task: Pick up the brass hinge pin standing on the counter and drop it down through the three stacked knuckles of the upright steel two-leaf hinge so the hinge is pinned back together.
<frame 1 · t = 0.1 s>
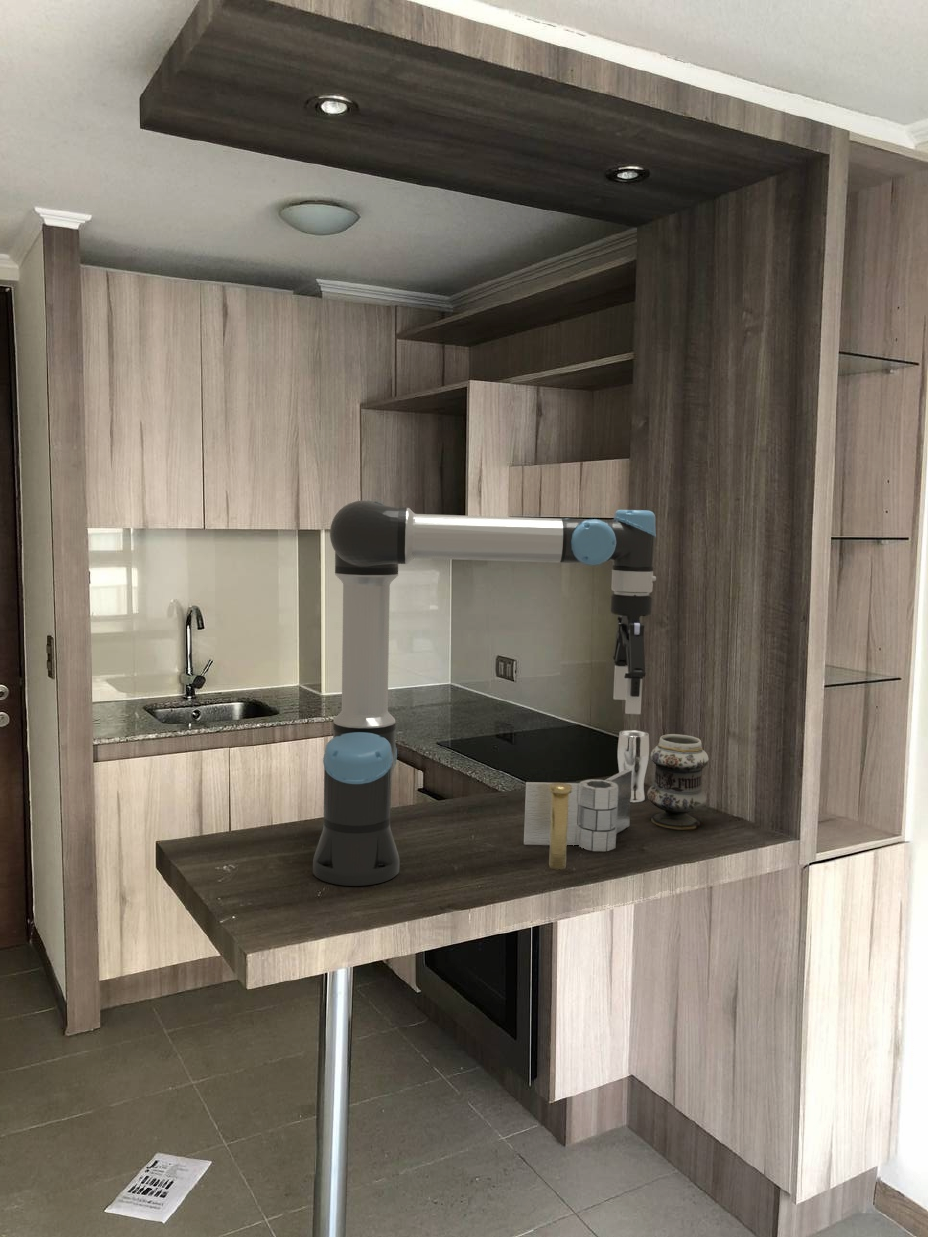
hand: (626, 706, 184), 28 cm above the breakfast bar, tool pointing down, fingers open, 13 cm apart
apothecary jar: (675, 823, 205), on the breakfast bar
brass pin: (557, 866, 178), on the breakfast bar
hinge fixed leaf: (596, 845, 190), on the breakfast bar
hinge swing leaf: (609, 807, 193), point 6 cm above the breakfast bar, hinge at 55.0°
beer glass: (630, 799, 222), on the breakfast bar
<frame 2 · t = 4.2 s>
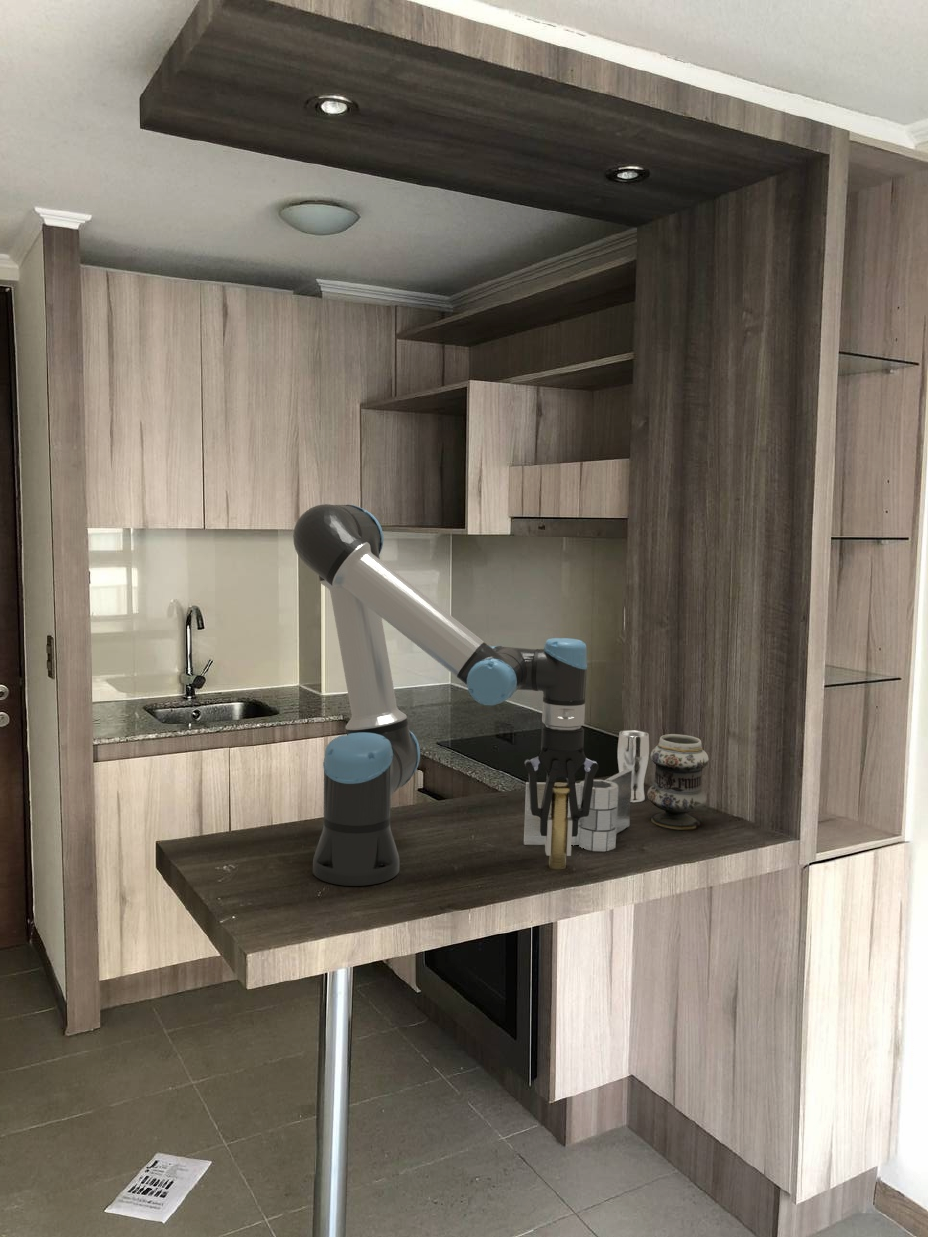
hand: (557, 852, 177), 3 cm above the breakfast bar, tool pointing down, fingers closed on brass pin, 3 cm apart
brass pin: (557, 866, 178), on the breakfast bar, touching gripper
everything else where it was.
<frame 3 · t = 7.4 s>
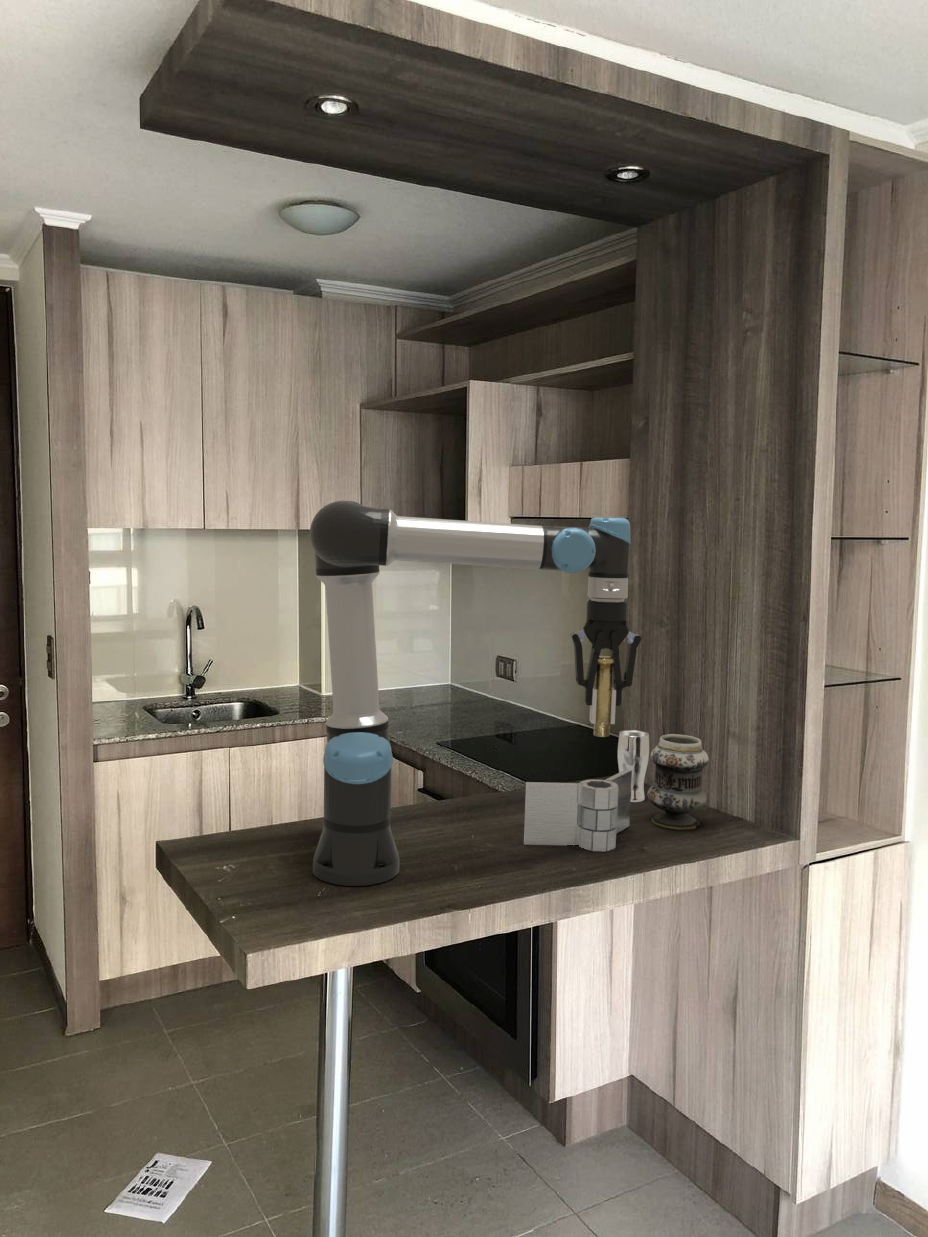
hand: (602, 722, 187), 24 cm above the breakfast bar, tool pointing down, fingers closed on brass pin, 3 cm apart
brass pin: (601, 735, 187), point 22 cm above the breakfast bar, touching gripper
everything else where it was.
when the fingers open (14 cm above the breakfast bar, at t = 10.6 s): brass pin drops 11 cm, resting in hinge fixed leaf.
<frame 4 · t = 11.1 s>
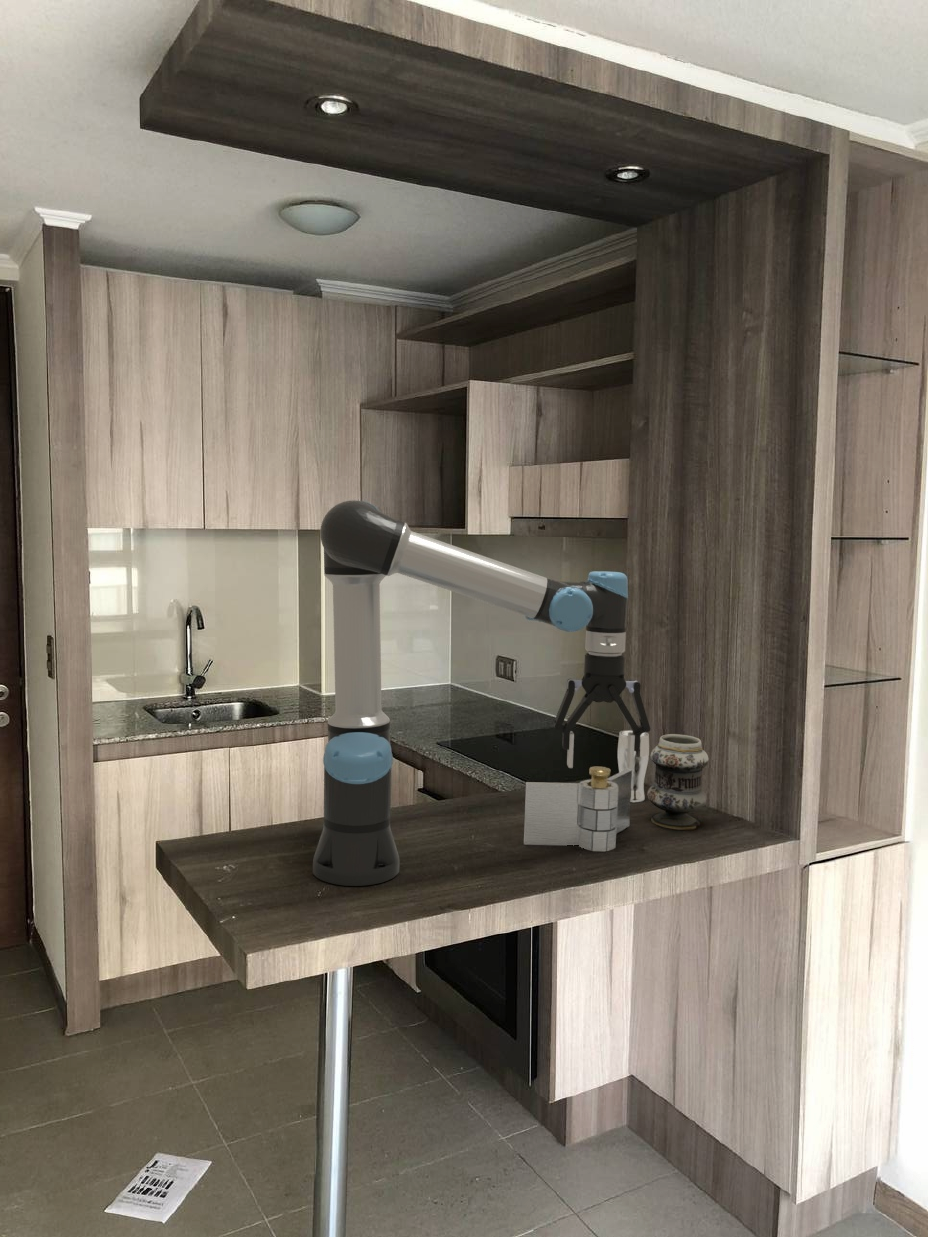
hand: (599, 766, 188), 15 cm above the breakfast bar, tool pointing down, fingers open, 11 cm apart
brass pin: (595, 845, 190), resting in hinge fixed leaf
everything else where it was.
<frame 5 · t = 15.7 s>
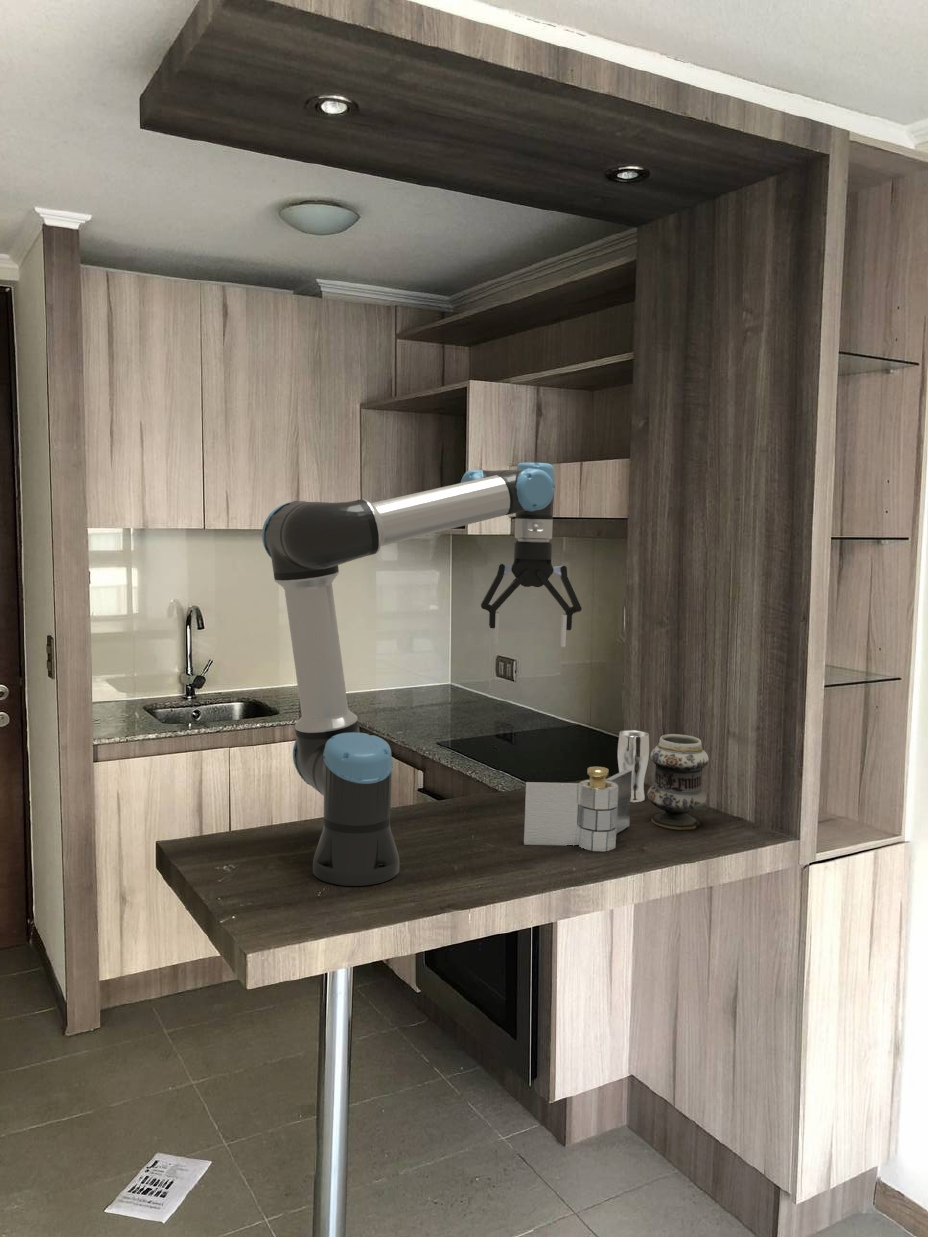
hand: (529, 645, 199), 37 cm above the breakfast bar, tool pointing down, fingers open, 13 cm apart
nothing on the breakfast bar moved.
at the end: brass pin 0.2 cm off-centre on the hinge fixed leaf, point 0.0 cm above the hinge fixed leaf's base; brass pin tilted 1°; the gripper is holding nothing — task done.
